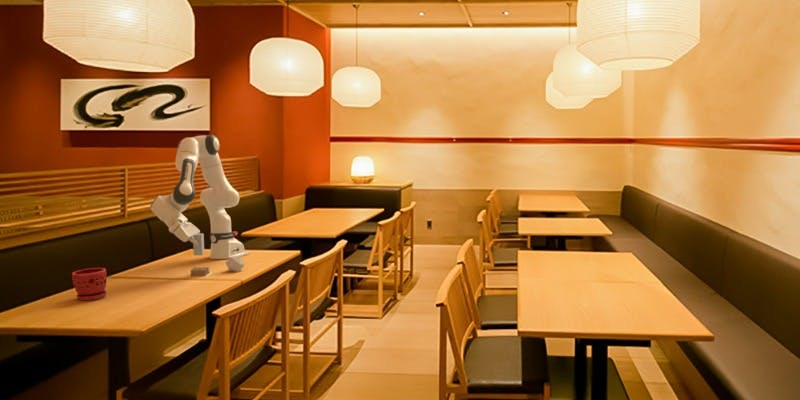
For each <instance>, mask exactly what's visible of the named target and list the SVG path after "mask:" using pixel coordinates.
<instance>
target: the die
mask: <svg viewBox="0 0 800 400" xmlns="http://www.w3.org/2000/svg"><path fill="white" fill-rule="evenodd" d="M225 266H226V267H227V269H228V272H234V273H235V272H236V273H239V272H240V271H241V270H242V269H243V268H244V267H245V266H246V264H245V263H244V260H243V257H242V256H232V257H230V258H229V259H227V261H225Z"/></svg>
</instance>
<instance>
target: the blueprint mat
mask: <svg viewBox="0 0 800 400" xmlns="http://www.w3.org/2000/svg"><path fill="white" fill-rule="evenodd" d="M211 274H212V272H210V273H209V274H208V275H206V276H191V274H190V275H188V278H199V277H200V278H201V277H204V278H205V277H206V278H207V277H208V276H210V275H211Z"/></svg>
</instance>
